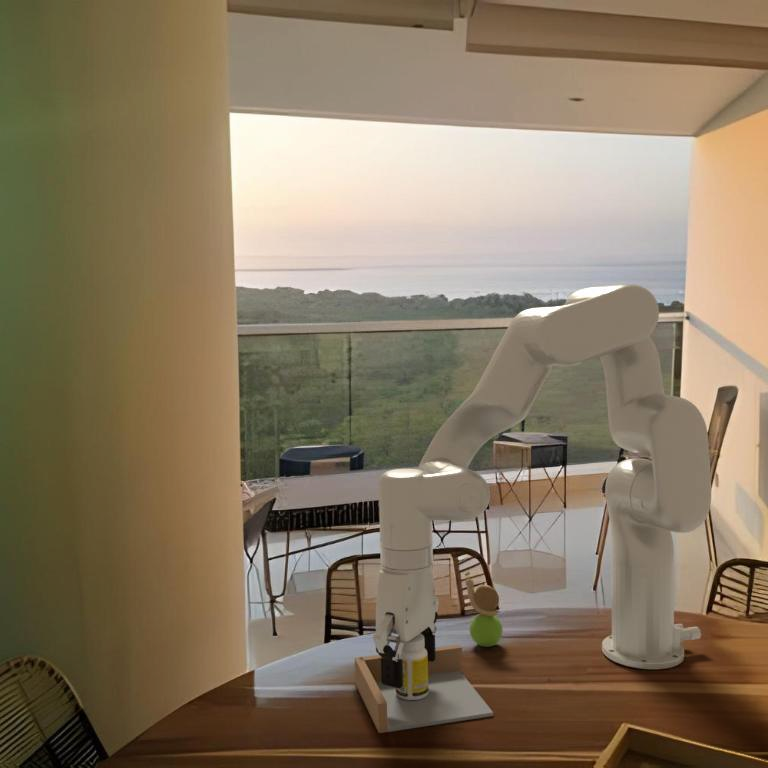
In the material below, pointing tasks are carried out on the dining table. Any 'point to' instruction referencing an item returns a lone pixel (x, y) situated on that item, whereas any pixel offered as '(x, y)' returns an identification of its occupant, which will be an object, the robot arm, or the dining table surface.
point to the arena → (441, 705)
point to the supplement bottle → (414, 669)
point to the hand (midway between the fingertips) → (409, 672)
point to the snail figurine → (484, 614)
